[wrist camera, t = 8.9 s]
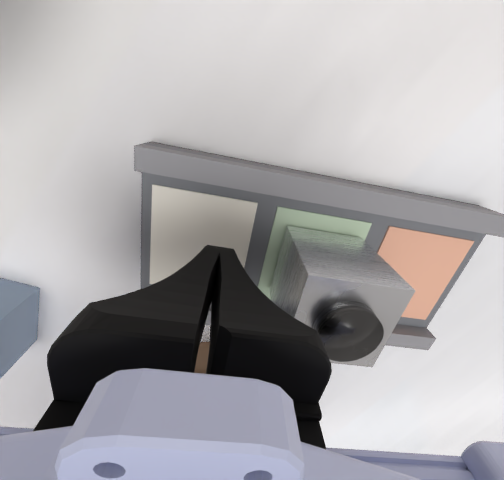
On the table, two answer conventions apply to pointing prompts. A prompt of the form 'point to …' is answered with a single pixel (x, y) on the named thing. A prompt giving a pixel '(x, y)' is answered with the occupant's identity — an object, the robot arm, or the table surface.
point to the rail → (302, 224)
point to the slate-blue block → (17, 321)
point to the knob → (339, 292)
